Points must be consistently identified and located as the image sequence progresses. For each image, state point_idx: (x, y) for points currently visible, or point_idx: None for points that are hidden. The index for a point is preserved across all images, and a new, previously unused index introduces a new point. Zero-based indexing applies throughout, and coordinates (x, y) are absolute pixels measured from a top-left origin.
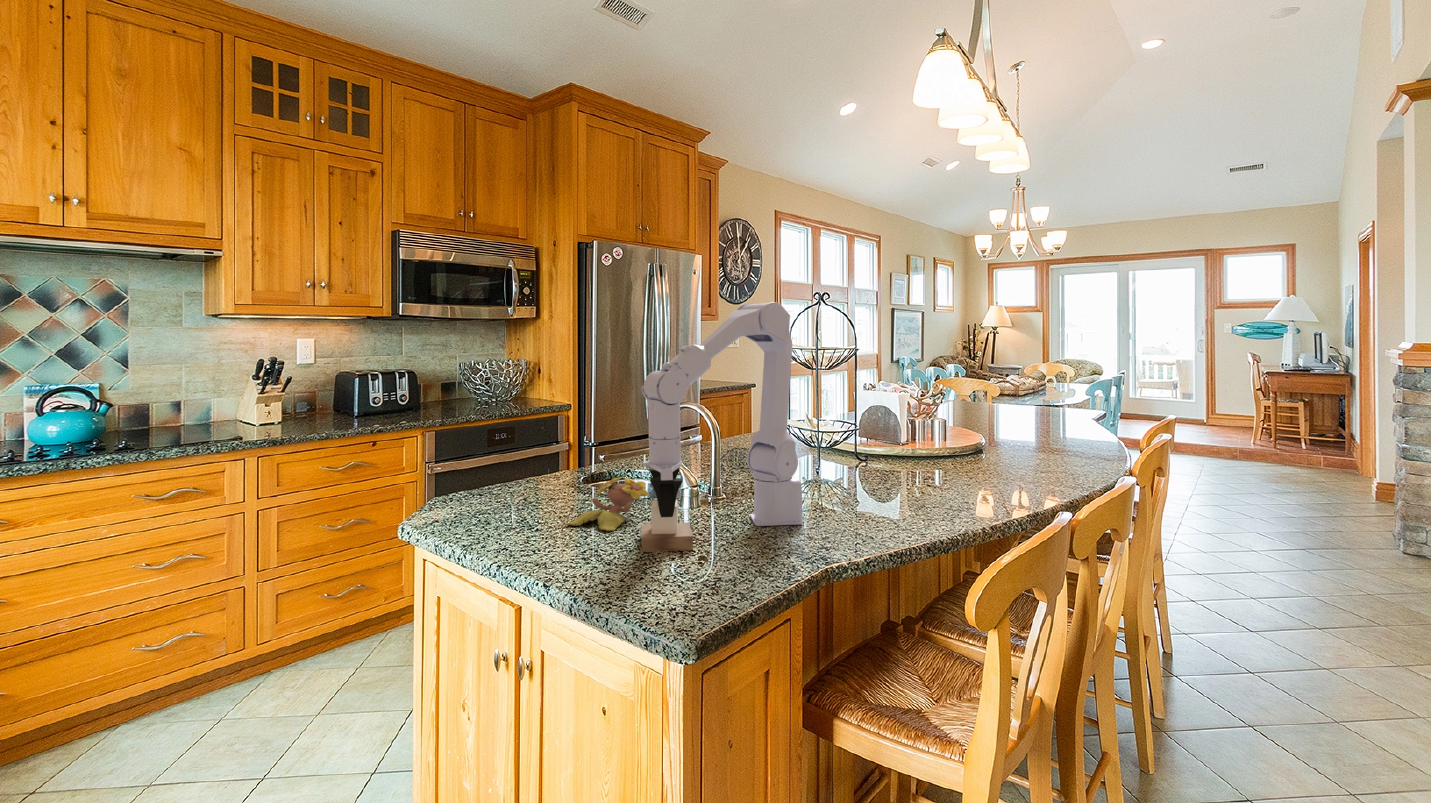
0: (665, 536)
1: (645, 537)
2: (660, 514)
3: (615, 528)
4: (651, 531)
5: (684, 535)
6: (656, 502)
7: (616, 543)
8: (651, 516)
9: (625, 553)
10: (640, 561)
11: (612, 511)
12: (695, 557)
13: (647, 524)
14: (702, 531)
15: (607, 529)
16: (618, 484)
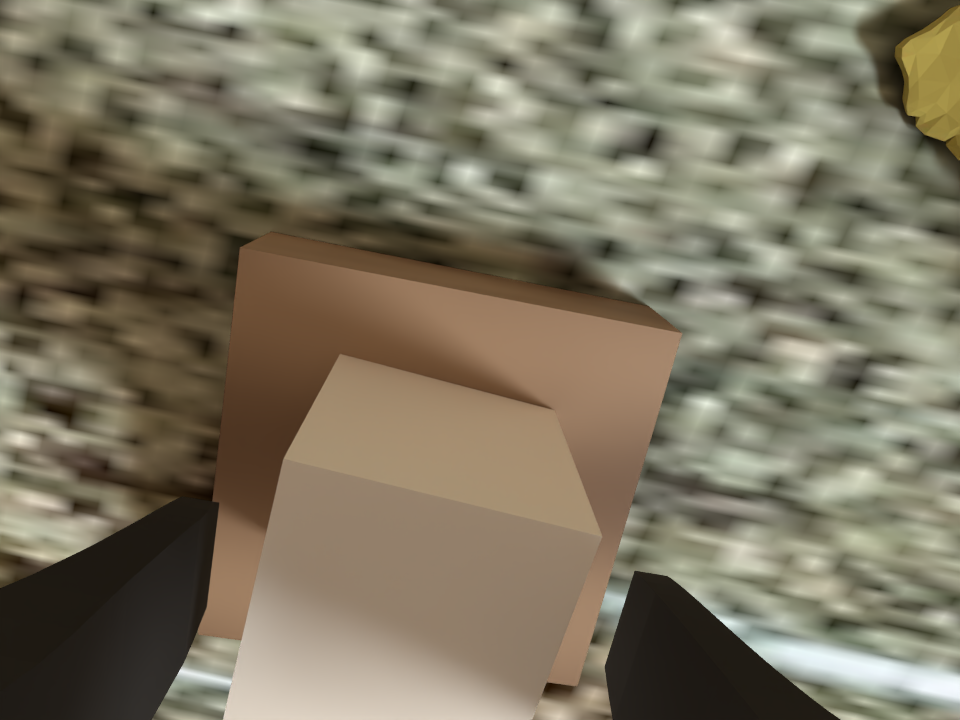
0: (237, 446)
1: (246, 282)
2: (168, 505)
3: (939, 138)
4: (338, 361)
5: (227, 584)
6: (480, 558)
7: (555, 73)
8: (310, 413)
9: (265, 95)
10: (38, 172)
11: None
12: (61, 548)
13: (649, 381)
14: (606, 710)
15: (902, 49)
16: None
